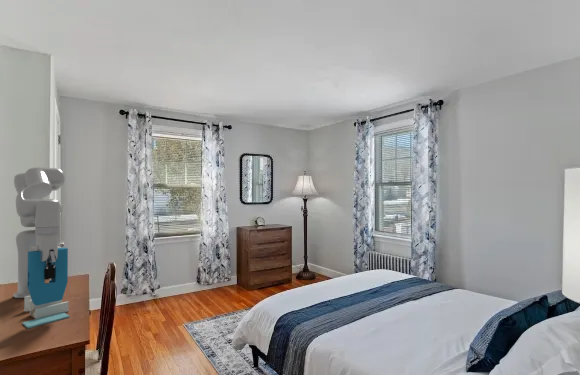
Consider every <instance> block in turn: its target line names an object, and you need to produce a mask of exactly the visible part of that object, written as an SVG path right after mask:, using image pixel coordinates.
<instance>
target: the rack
mask: <svg viewBox="0 0 580 375" xmlns="http://www.w3.org/2000/svg"><path fill="white" fill-rule="evenodd" d="M23 299H24V300H23V302H24V303H23V304H24V305H23V312H29V316H30V317H32V316H31V308H34V304H33V302H32V299H31V296H26V297H24V298H23ZM61 302H63V299H62V300H61ZM69 310H70V309H69V301H68V300H67V301H64V302H63V303H59V304H55V305H51V306H47V307H43V308H38V309H35V318H34V319H38V318H41V317H45V316H49V315H53V314H57V313H61V312H64V313H67V312H69Z"/></svg>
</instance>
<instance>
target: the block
mask: <svg viewBox="0 0 580 375" xmlns="http://www.w3.org/2000/svg"><path fill="white" fill-rule="evenodd" d="M68 249H69V248H68V247H58V257H57V259H56V262H55V278H53V279H48V282H46V281H45V279H44V269H45V261H44V262H41V261H40V255H41V252H39V251H30V252H28V280H27V288H28V291H29V293H30V296H31V299H32V302H33V304H34V305H42V304H46V303H50V302H55V301H59V300H62V301H63V298H64V296H65V291H66V288H67V285H68V280H69V278H68V276H69V275H68V274H69V273H68V272H69V271H68V268H69V266H68V265H69V264H68V262H69V258H68V257H69V252H68V251H69V250H68ZM54 256H55V255H54ZM48 260H50V259H47V261H48ZM48 263H50V262H48Z"/></svg>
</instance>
